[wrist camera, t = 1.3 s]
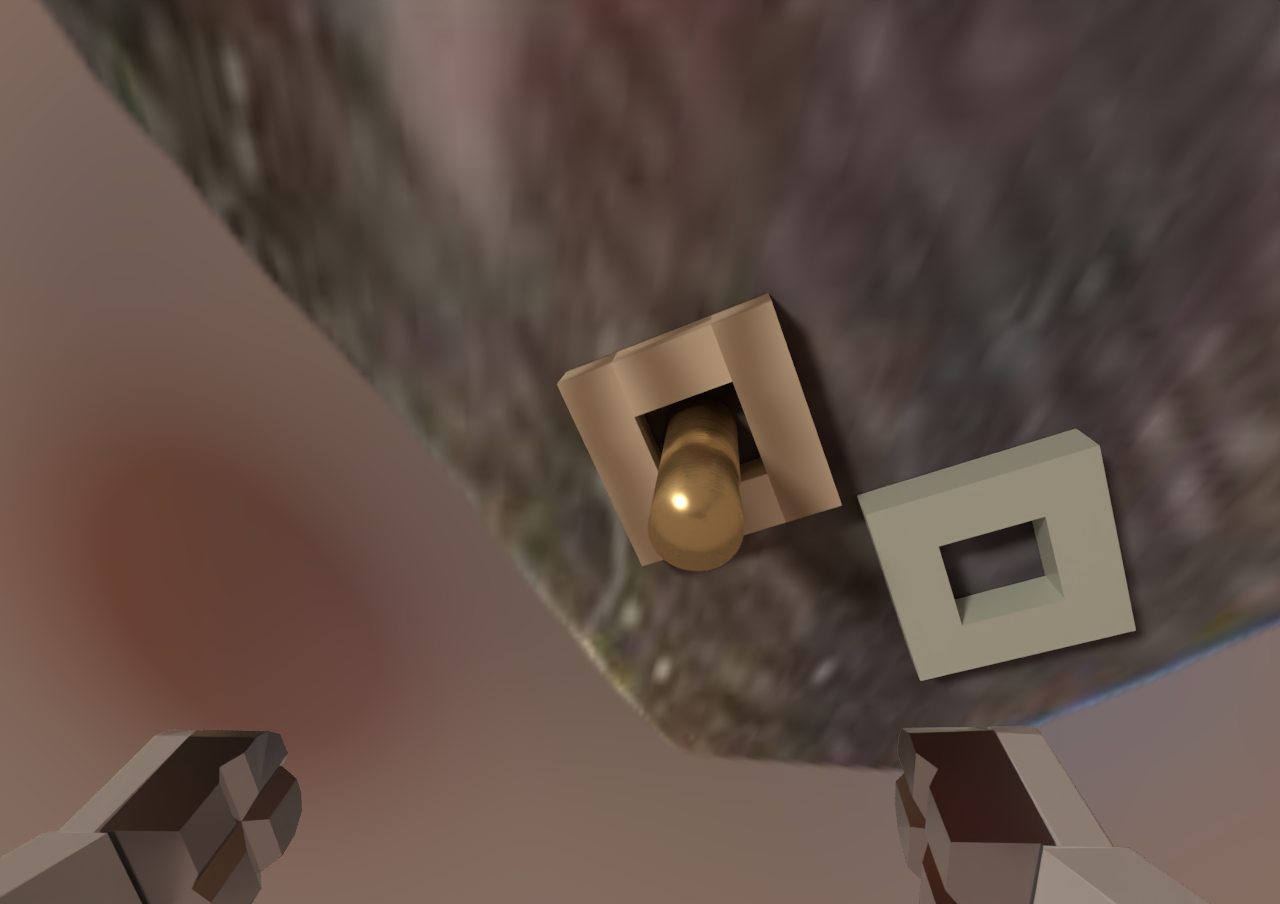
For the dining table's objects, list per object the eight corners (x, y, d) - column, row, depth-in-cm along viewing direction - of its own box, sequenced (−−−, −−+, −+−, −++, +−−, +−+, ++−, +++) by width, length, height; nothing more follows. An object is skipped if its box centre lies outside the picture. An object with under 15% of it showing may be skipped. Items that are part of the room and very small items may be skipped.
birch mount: (768, 293, 36) (771, 301, 34) (834, 486, 40) (841, 505, 37) (566, 371, 39) (556, 384, 36) (646, 544, 42) (642, 566, 40)
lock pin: (723, 386, 38) (724, 473, 27) (746, 448, 39) (757, 555, 28) (657, 410, 39) (632, 503, 28) (682, 469, 40) (668, 582, 29)
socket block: (1075, 428, 37) (1099, 445, 34) (1112, 604, 40) (1135, 630, 38) (856, 495, 40) (865, 515, 37) (909, 654, 43) (920, 681, 41)
